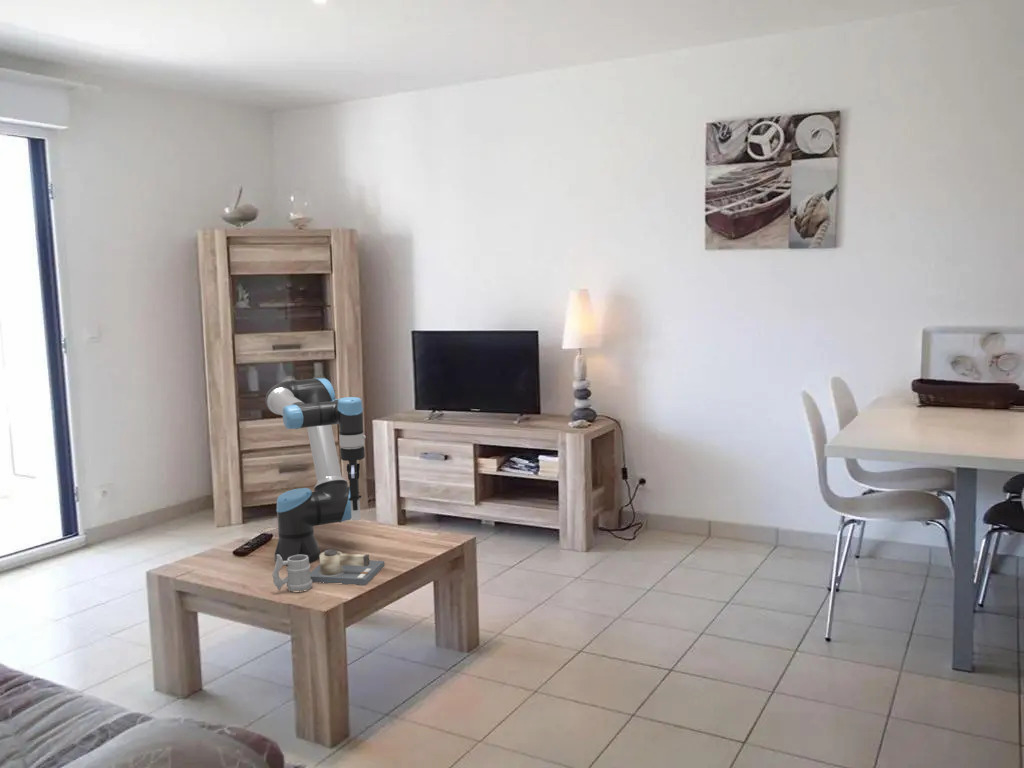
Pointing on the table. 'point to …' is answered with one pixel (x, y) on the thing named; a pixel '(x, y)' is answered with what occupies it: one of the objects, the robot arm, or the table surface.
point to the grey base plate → (349, 574)
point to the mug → (293, 573)
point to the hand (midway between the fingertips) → (356, 519)
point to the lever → (340, 561)
